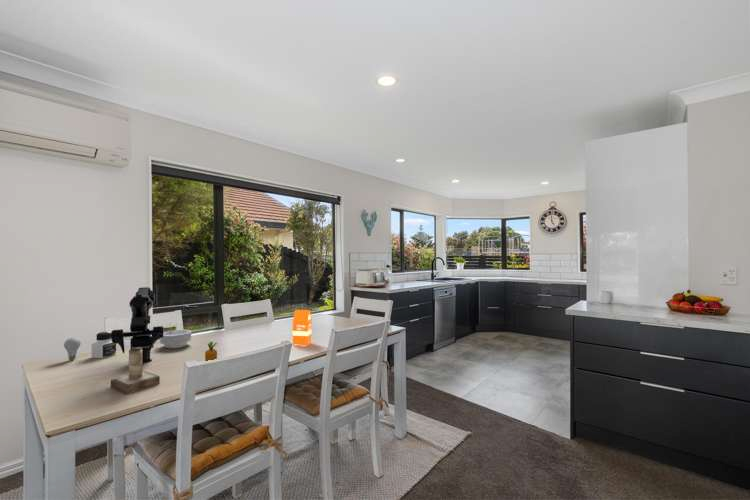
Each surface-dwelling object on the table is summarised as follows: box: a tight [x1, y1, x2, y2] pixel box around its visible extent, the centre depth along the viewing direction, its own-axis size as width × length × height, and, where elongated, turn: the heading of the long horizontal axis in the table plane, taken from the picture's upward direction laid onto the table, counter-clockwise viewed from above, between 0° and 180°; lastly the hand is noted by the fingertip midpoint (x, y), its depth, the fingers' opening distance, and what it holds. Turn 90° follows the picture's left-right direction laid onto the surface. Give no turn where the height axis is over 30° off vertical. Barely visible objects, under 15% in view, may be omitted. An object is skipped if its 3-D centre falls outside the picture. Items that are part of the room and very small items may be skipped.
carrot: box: [204, 341, 218, 361], centre depth 150 cm, size 5×5×15 cm
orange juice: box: [292, 309, 312, 346], centre depth 201 cm, size 8×9×20 cm
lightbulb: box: [63, 337, 82, 361], centre depth 168 cm, size 6×6×11 cm
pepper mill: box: [128, 347, 143, 380], centre depth 138 cm, size 4×4×12 cm
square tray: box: [110, 370, 161, 395], centre depth 138 cm, size 12×12×3 cm
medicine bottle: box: [91, 331, 117, 359], centre depth 175 cm, size 7×7×12 cm
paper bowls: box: [159, 329, 192, 349], centre depth 194 cm, size 15×15×8 cm
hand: (137, 351), depth 145 cm, fingers open, 9 cm apart
